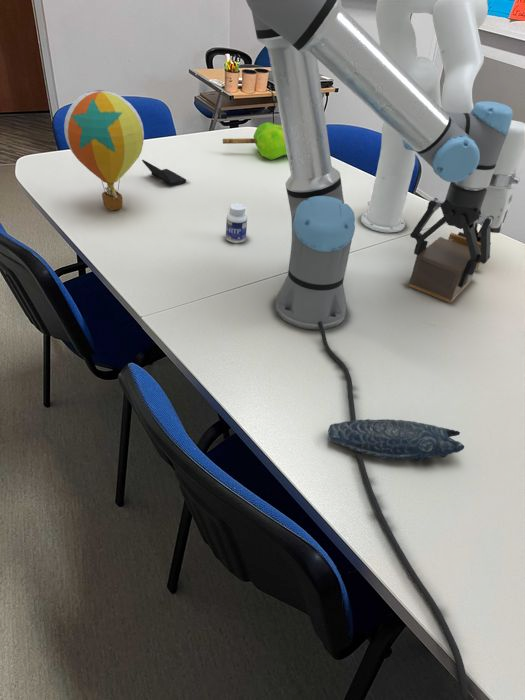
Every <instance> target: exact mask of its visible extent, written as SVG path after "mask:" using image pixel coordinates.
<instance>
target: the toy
mask: <svg viewBox="0 0 525 700" xmlns="http://www.w3.org/2000/svg"><path fill="white" fill-rule="evenodd" d="M63 128H64V130H63V131H64V132H63V133H64V137H65V141H66V144H67V146H68V148H69V150H70V151H71V152H72V154H73V156H75V158H76V159H77V161H78V162H80V163H81V165H83V166H84V167H85V168H86V169H87V170H88V171H90V172H91V173H92V174H93V175H94V176H96V177H97V178H98V179H100V180H101V183H102V184H101V185H102V187H103V191H102V193H101V198H102V203H103V205H104V207H105V208H106V209H108V210H109V211H110V212H113V211H118V210H121V209H122V208H123V203H124V201H123V195H122V194H121V193H120V192H119V191H118V190H119V188H120V183H118V182H120V181H121V178H122V177H123V176H124V175H125V174H126V173H127V172H128V171H129V170H130V169H131V167H133V165H134V164H135V163H136V161H137V160H138V159H139V158H140V155H141V153H142V150H143V147H144V141H145V131H144V130H145V129H144V125H143V121H142V119H141V116H140V114H139V113H138V111H137V109H136V108H134V106H133V105H132V103H130V102H129V101H128V100H127V99H126V98H124V97H123V96H122V95H119V94H117V93H115V92H112V91H109V90H102V89H101V90H100V89H98V90H92V91H87V92H85V93H82V95H79V96H78V97H77V98H76V99H75V100H73V102H72V103H71V105H70V107H69V108H68V111H67V112H66V114H65V118H64V124H63ZM104 183H105V184H106V185H107V186H106V187H105V186H104ZM115 183H118V185H117V190H116V188H115Z"/></svg>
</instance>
